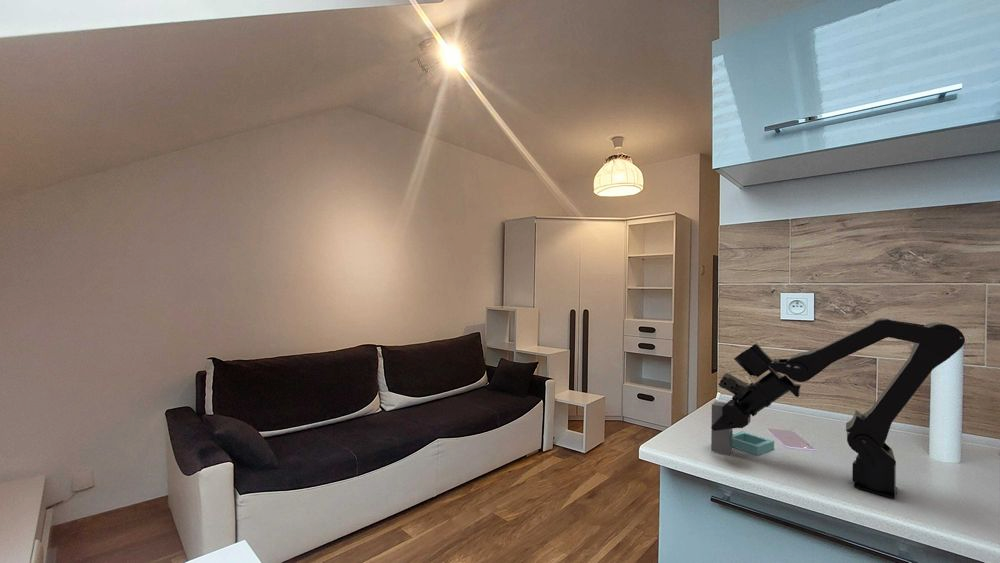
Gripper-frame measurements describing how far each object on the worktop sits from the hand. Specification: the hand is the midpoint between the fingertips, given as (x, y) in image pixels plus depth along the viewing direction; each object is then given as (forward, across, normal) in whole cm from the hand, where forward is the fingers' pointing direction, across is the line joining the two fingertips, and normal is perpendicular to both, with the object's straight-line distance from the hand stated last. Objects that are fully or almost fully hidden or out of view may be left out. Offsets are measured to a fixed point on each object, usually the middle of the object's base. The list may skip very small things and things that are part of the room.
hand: (716, 424), depth 110 cm
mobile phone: (-5, -22, +15) cm, 28 cm away
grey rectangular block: (+4, 0, +6) cm, 7 cm away
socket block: (0, -8, +9) cm, 13 cm away
